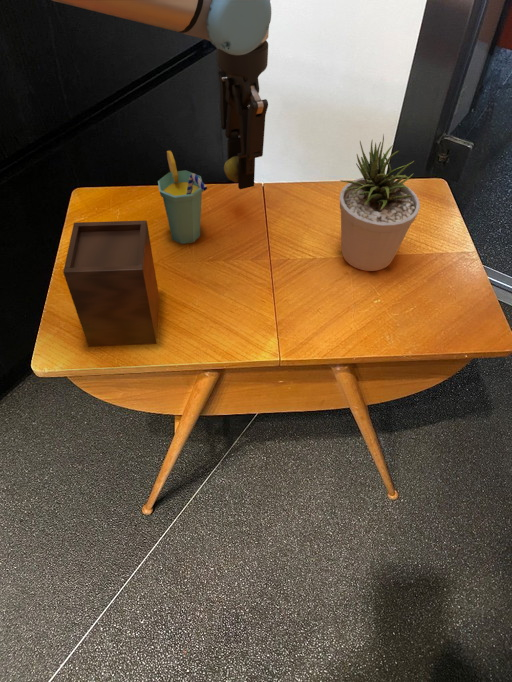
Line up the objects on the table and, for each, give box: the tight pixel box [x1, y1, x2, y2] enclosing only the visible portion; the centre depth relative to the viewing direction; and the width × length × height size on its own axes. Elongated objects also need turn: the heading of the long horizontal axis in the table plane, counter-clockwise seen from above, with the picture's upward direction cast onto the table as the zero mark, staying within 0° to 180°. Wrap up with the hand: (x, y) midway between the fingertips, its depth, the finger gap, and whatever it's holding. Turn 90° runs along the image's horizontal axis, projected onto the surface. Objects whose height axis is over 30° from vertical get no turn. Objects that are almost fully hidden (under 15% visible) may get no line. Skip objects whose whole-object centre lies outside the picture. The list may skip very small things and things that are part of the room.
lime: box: [223, 156, 239, 183], centre depth 95 cm, size 4×5×5 cm
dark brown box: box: [63, 220, 160, 348], centre depth 78 cm, size 10×10×15 cm
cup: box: [157, 150, 208, 245], centre depth 91 cm, size 14×8×15 cm, turn 36°
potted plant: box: [339, 133, 421, 272], centre depth 88 cm, size 13×14×20 cm
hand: (240, 179), depth 97 cm, fingers closed on lime, 4 cm apart
